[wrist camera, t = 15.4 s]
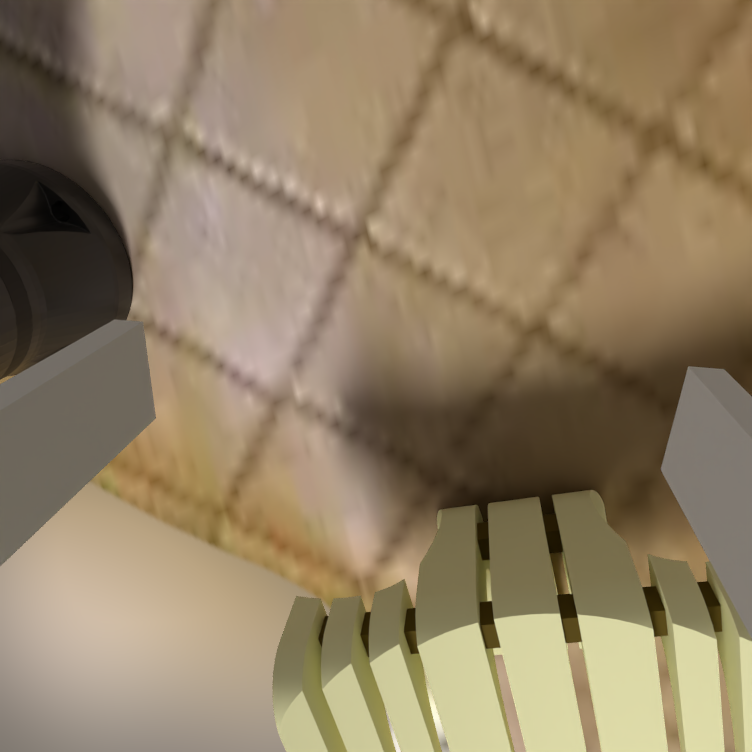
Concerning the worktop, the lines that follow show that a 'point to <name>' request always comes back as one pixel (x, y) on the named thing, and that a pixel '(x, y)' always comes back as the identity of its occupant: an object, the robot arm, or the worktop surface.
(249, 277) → the worktop surface
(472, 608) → the slatted curved stool
